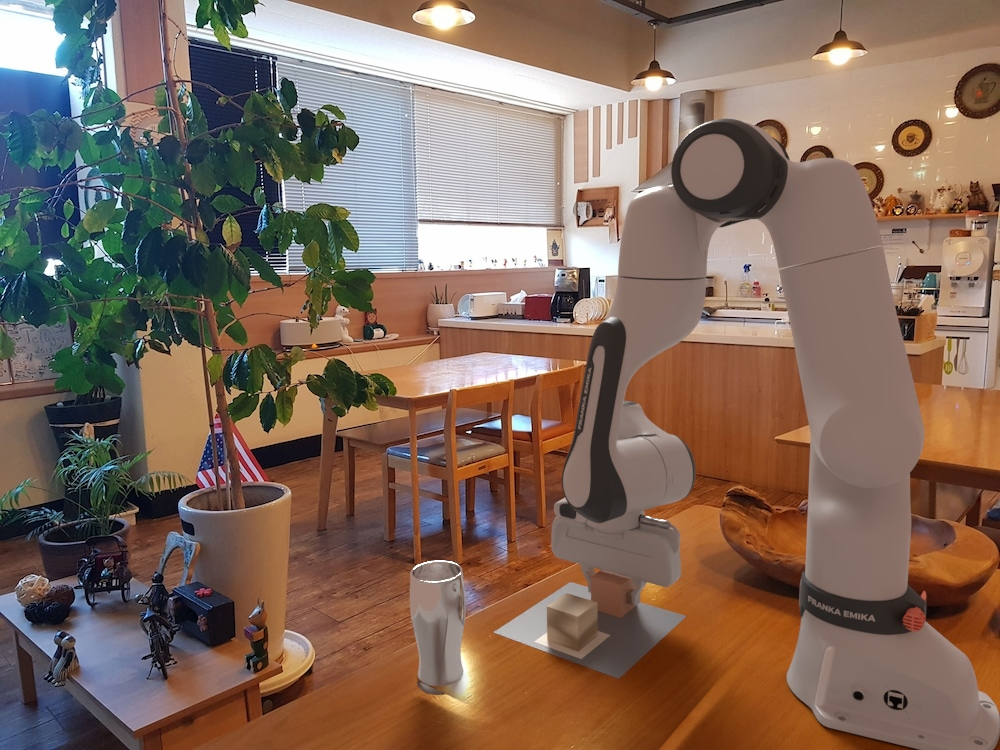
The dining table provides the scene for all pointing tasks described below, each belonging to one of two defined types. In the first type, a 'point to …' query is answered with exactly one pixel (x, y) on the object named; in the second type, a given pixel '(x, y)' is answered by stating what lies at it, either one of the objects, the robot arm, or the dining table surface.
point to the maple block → (572, 621)
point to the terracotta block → (611, 593)
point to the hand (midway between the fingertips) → (613, 597)
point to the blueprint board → (616, 636)
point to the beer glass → (438, 622)
